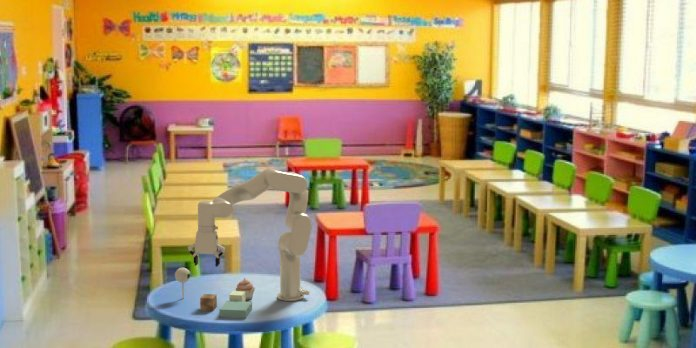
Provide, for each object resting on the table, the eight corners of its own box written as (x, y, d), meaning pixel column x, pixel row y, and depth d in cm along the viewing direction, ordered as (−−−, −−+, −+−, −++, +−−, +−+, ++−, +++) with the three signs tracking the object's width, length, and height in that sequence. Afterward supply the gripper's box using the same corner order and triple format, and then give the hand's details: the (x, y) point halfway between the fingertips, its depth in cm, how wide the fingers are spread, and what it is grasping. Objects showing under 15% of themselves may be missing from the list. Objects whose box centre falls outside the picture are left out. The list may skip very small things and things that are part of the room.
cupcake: (238, 294, 425) (238, 274, 423) (257, 295, 423) (257, 275, 421) (232, 300, 416) (232, 280, 414) (252, 301, 414) (251, 281, 412)
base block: (252, 310, 403) (252, 302, 402) (246, 319, 391) (245, 310, 390) (226, 309, 404) (226, 300, 404) (219, 318, 393) (219, 309, 392)
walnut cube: (216, 306, 407) (216, 294, 406) (213, 311, 401) (213, 298, 400) (204, 306, 407) (203, 293, 406) (200, 310, 402) (200, 297, 401)
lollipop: (186, 301, 414) (185, 270, 412) (172, 299, 417) (171, 269, 414) (193, 297, 421) (192, 266, 418) (180, 295, 423) (179, 265, 421)
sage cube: (245, 303, 411) (245, 291, 410) (242, 308, 405) (242, 295, 404) (232, 303, 412) (232, 291, 411) (229, 307, 406) (229, 294, 405)
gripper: (227, 227, 400) (227, 264, 403) (190, 225, 402) (190, 262, 405) (223, 231, 393) (223, 268, 396) (185, 229, 395) (185, 266, 398)
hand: (206, 265), depth 401 cm, fingers open, 9 cm apart
